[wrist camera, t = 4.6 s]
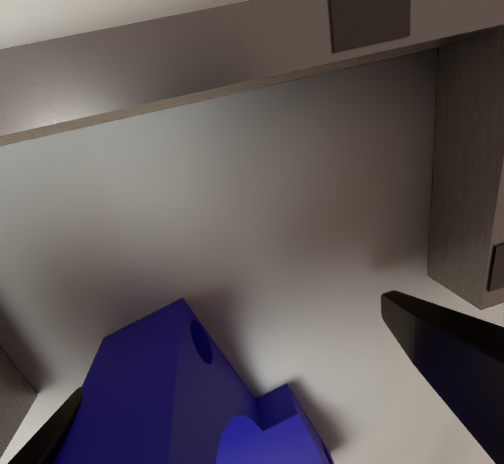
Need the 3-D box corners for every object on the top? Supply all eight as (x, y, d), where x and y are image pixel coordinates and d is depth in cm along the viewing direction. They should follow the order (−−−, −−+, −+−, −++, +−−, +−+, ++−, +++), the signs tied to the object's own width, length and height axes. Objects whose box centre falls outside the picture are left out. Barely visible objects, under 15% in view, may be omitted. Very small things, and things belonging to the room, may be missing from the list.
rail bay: (454, 267, 11) (514, 300, 9) (1, 406, 9) (-55, 486, 7) (482, -14, 7) (592, -67, 5) (-237, 135, 6) (-474, 140, 4)
